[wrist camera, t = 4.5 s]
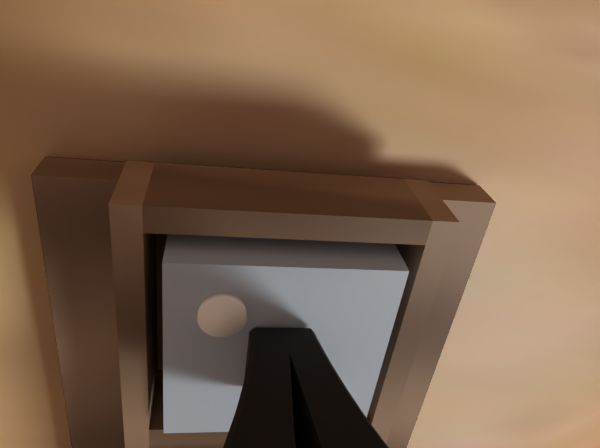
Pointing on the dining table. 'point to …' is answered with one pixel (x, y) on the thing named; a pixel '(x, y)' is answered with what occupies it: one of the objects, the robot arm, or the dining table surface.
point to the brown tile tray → (230, 223)
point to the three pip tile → (269, 315)
